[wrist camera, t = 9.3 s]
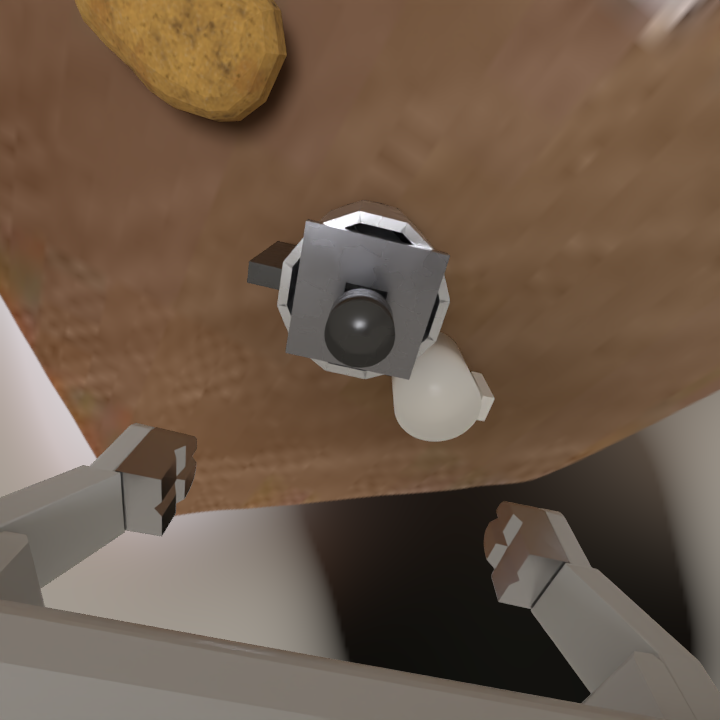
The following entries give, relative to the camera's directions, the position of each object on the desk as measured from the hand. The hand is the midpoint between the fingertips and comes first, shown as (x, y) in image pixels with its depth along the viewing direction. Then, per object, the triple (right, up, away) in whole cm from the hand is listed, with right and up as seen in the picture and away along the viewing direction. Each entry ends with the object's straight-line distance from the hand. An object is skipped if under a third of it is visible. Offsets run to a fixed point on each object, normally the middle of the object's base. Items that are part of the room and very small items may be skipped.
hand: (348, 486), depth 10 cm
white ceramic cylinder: (+7, +3, +28) cm, 29 cm away
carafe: (0, +12, +24) cm, 27 cm away
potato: (-11, +26, +18) cm, 33 cm away
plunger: (+1, +11, +23) cm, 25 cm away
